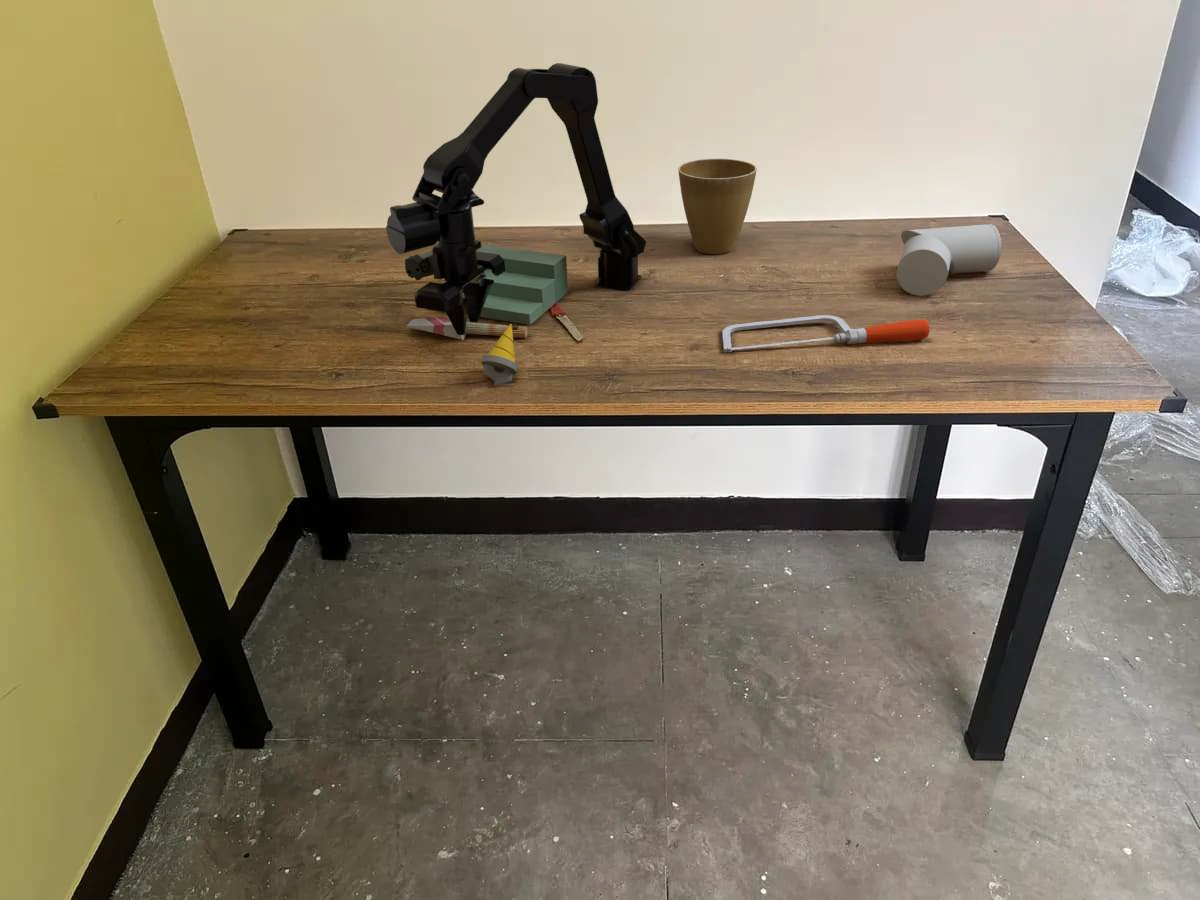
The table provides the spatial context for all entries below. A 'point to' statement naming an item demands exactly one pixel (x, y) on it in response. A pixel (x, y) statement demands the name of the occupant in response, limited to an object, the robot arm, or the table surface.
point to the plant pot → (716, 201)
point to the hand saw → (852, 336)
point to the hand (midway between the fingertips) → (467, 329)
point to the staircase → (524, 284)
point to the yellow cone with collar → (501, 359)
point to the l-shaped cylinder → (945, 255)
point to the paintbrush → (446, 328)
